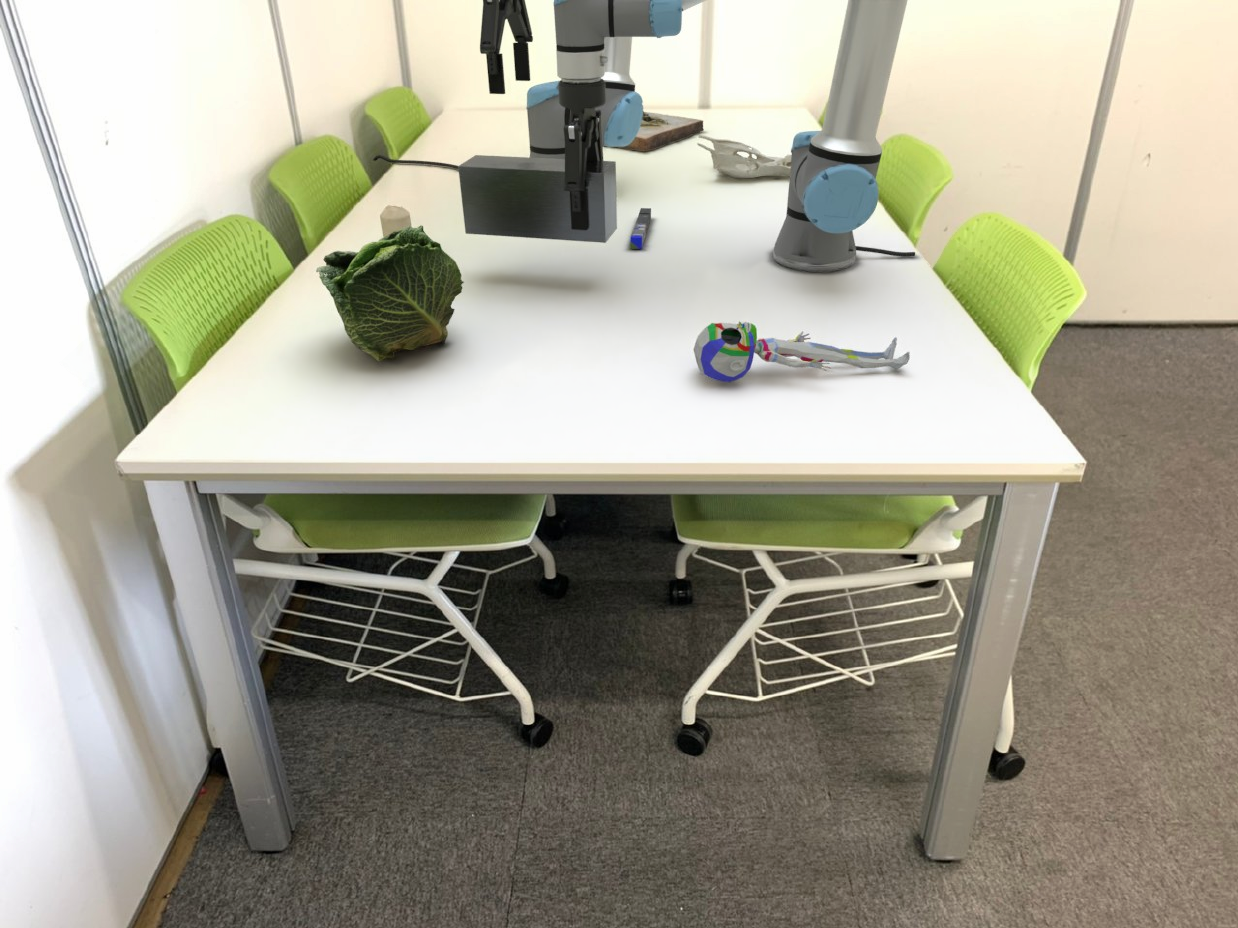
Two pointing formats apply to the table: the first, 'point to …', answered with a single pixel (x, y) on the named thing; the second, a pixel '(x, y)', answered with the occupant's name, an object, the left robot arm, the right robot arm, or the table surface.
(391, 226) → the candle
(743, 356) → the toy
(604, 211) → the box
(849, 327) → the table surface
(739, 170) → the anatomical model
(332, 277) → the vegetable
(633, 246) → the pillar
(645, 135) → the plaque
